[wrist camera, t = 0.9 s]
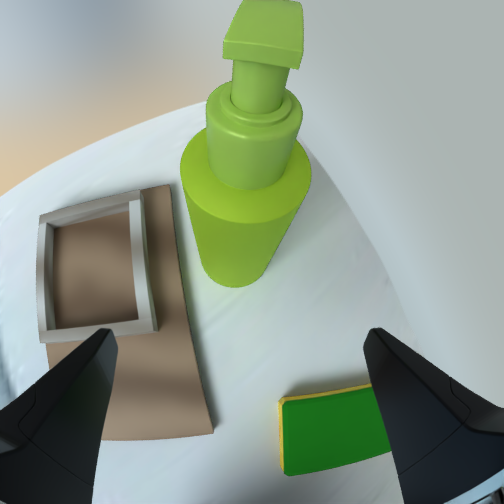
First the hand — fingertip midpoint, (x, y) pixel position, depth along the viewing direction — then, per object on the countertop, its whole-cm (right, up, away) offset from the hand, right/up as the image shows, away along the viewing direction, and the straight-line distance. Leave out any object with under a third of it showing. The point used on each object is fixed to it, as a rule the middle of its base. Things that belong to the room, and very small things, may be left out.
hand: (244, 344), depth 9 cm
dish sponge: (+9, -13, +12) cm, 20 cm away
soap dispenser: (-1, +3, +16) cm, 16 cm away
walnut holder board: (-12, -3, +13) cm, 18 cm away
